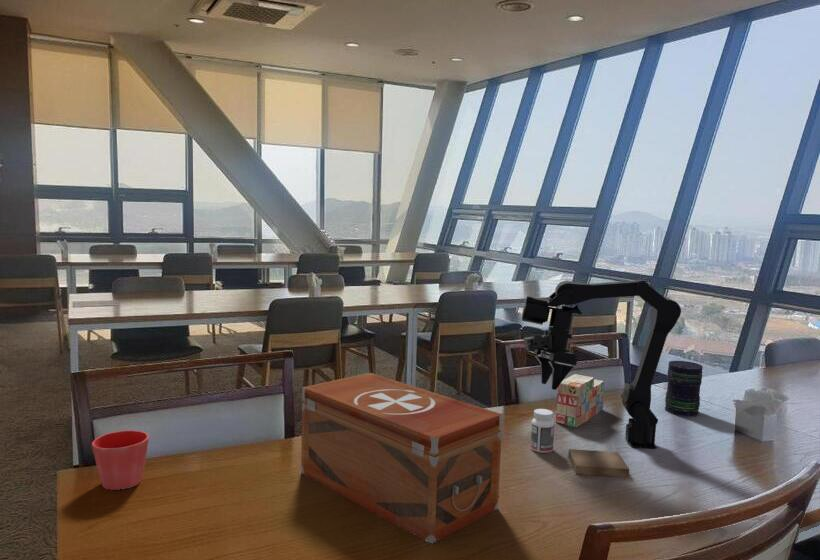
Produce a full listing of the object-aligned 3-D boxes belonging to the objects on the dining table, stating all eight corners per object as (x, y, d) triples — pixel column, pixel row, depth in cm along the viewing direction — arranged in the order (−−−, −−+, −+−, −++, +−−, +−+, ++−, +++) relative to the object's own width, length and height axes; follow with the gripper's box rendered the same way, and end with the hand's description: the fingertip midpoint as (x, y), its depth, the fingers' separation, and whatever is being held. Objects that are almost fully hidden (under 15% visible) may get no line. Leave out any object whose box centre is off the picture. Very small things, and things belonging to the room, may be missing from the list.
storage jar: (668, 404, 199) (672, 359, 197) (701, 411, 193) (706, 364, 191) (660, 412, 191) (664, 364, 189) (695, 419, 185) (699, 370, 183)
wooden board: (617, 459, 152) (618, 452, 152) (628, 477, 143) (629, 468, 142) (568, 456, 153) (568, 449, 153) (575, 473, 143) (576, 465, 143)
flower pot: (94, 475, 135) (93, 433, 133) (149, 469, 139) (148, 427, 138) (91, 497, 125) (89, 451, 124) (149, 489, 129) (149, 444, 128)
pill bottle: (555, 447, 159) (557, 410, 158) (550, 455, 154) (552, 416, 153) (533, 443, 162) (535, 406, 160) (527, 450, 156) (529, 413, 155)
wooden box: (367, 450, 154) (369, 371, 152) (500, 509, 126) (505, 414, 123) (299, 473, 140) (300, 387, 137) (432, 546, 111) (436, 439, 109)
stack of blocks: (583, 405, 195) (585, 367, 193) (602, 410, 191) (605, 371, 190) (555, 423, 178) (557, 381, 176) (576, 428, 174) (578, 386, 173)
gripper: (521, 320, 172) (510, 375, 172) (540, 324, 153) (528, 386, 153) (559, 328, 173) (549, 383, 172) (583, 333, 154) (571, 394, 154)
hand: (548, 386), depth 163 cm, fingers open, 9 cm apart
